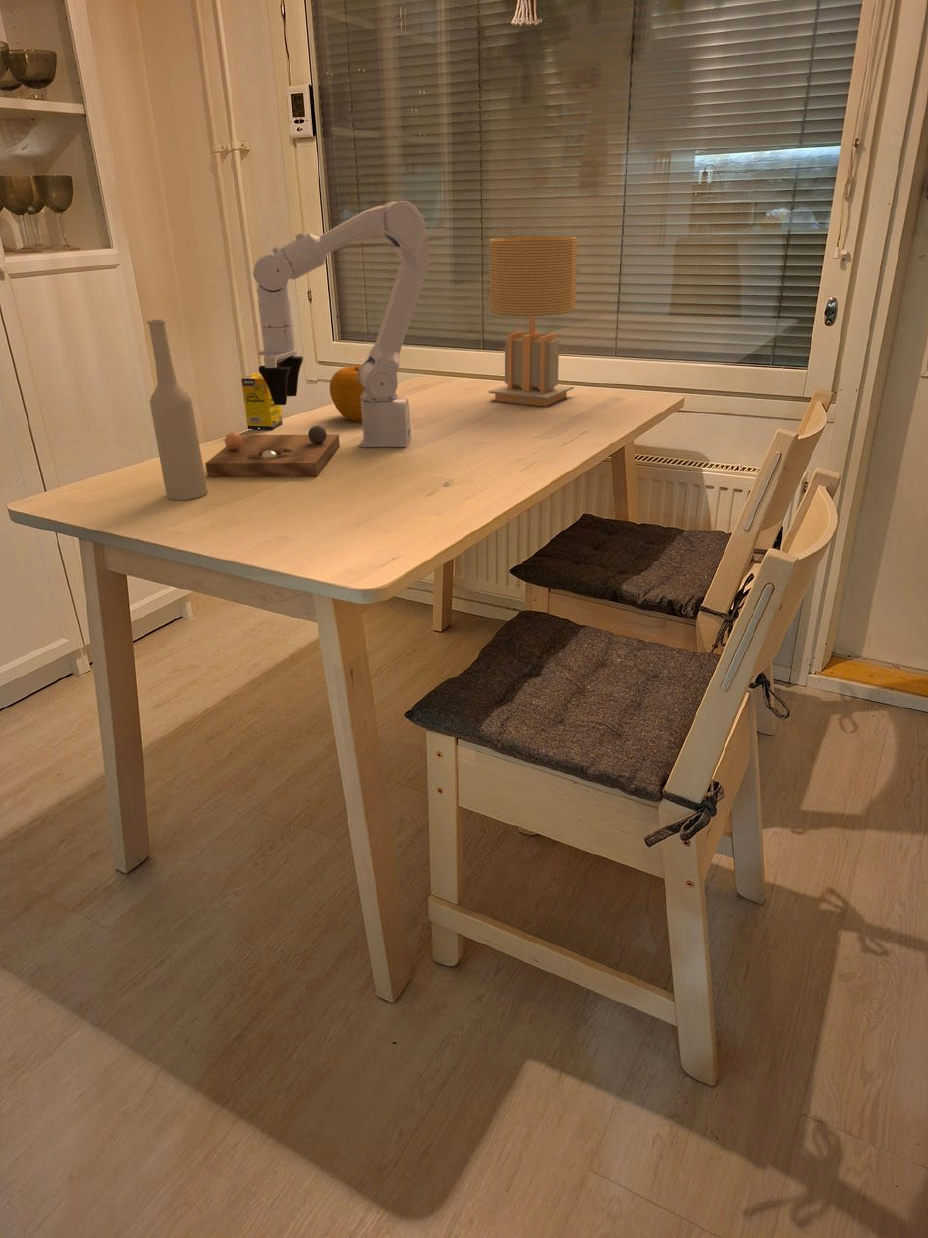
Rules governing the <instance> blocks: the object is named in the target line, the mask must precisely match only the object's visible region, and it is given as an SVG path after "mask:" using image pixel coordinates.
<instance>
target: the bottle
mask: <svg viewBox="0 0 928 1238" xmlns="http://www.w3.org/2000/svg"><path fill="white" fill-rule="evenodd" d="M146 325H148V328H149V333H150V337H151V338H150V339H151V346H152V349H153V357H154V361H155V372H156V380H157V381H156V382H157V385H156V387H155V389H154V391H153V393H152V395H151V397H150V399H149V405H150V411H151V412H150V413H151V416H152V421H153V427H154V428H153V429H154V434H155V437H156V438H155V439H156V444H157V450H158V456H159V461H160V467H161V472H162V478H163V482H164V487H165V493H166V498H167V499H168V500H170V501H179V502H182V501H185V502H186V501H189V500H190V501H192V500H196V499H201V498H203V497H204V496H207V494H208V489H207V483H206V482H207V481H206V476H205V471H204V470H205V469H204V465H203V459H202V453H201V447H200V442H199V436H198V432H197V431H198V430H197V425H196V419H195V418H196V417H195V413H194V407H193V404H192V398H191V396H190V395H189V393H188V392H187V391H186V390H185V389H184V388H183V387H182V386H181V385H180V384H179V383H178V380H177V378H176V373H175V368H174V365H173V359H172V355H171V349H170V345H169V338H168V335H167V334H168V333H167V327H166V319H149V320H147V321H146Z"/></svg>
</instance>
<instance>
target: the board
mask: <svg viewBox="0 0 928 1238" xmlns="http://www.w3.org/2000/svg"><path fill="white" fill-rule="evenodd" d="M239 435H240V436H241V438H242V441H243V442H242V446H241V447H240V448H239V449H237V450H231V449H229V448H228V447H227V446H226V445H225V447H223V448H222V449H221V450H220V451H218V452H217V453H215V455H214V456H213V457H211V458H210V459H209V460H208V461H206V462H205V463H204V464H205V469H206V474H207V477H208V478H243V477H244V478H246V477H247V478H260V477H261V478H265V477H266V478H273V477H274V478H276V477H277V478H286V477H288V478H290V477H291V478H292V477H293V478H302V477H303V478H305V477H306V478H307V477H308V478H310V477H311V478H312V477H313V478H316V477H318V476H319V475H320V473H321V472H322V471H323V470H324V468H325V467H326V466H327V465H328V463H329V462H330V461H331V459H332V458H333V457H334V455H335V454H336V453H337V451H338V450H339V449H340V447H341V443H340V435H339V434H335V433H334V434H331V433H330V434H327V433H326V439H325V441H324V442H323V443H321V444H315V443H313V442H311V441H310V439H309V436H308V434H239ZM267 450H272V451H274V452H276V454H277V455H278V456H275V457H261V455H262V453H263V452H265V451H267Z"/></svg>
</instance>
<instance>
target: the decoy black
mask: <svg viewBox="0 0 928 1238" xmlns="http://www.w3.org/2000/svg"><path fill="white" fill-rule="evenodd" d="M326 434H327V432H326V429H325V428H324V427H322V426H320V425H313V426H312V427H311V428H310V429H309V430H308V434H307V435H308V436H309V439H310V441H311V442H313V443H315V444H321V443H323V442H324V441H325V439H326Z"/></svg>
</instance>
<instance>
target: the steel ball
mask: <svg viewBox="0 0 928 1238" xmlns="http://www.w3.org/2000/svg"><path fill="white" fill-rule="evenodd" d="M275 456H278V455H277V454H276V452H274V451H272V450H267V451H265V452H263V453H262V455H261V457H275Z"/></svg>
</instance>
